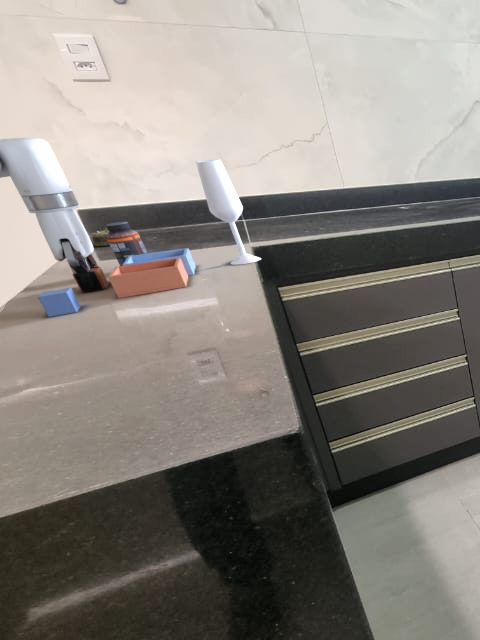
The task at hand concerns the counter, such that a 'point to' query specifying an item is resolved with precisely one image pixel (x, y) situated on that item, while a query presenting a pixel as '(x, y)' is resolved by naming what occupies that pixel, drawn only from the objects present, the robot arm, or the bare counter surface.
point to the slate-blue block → (59, 302)
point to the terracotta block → (100, 277)
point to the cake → (101, 238)
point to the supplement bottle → (124, 241)
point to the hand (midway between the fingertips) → (94, 286)
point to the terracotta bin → (148, 277)
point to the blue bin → (164, 255)
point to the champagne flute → (223, 201)
